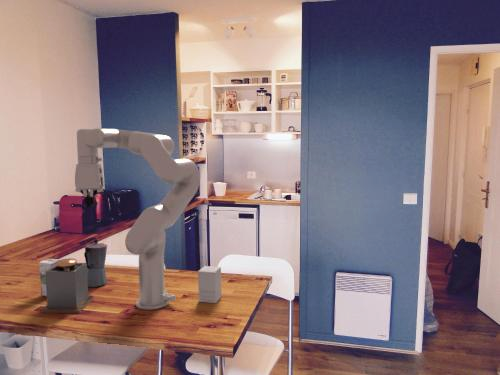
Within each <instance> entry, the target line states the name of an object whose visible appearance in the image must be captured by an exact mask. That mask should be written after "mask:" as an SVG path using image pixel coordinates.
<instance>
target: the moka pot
mask: <svg viewBox="0 0 500 375" xmlns="http://www.w3.org/2000/svg"><path fill="white" fill-rule="evenodd" d="M107 247H108V245H107V244H106V243H104V242H99V240H98V239H94V243H91V244H90V243H89V244H86V245H85V246H84V253H83V254H84V255H83V256H84V258H85V259H84V260H85V263H87V277H88V288H89V287H90V288H97V287H103V286H105V285H107V283H108V280H107V275H106V267H105V266H106V260H107V259H106V257H107V249H108V248H107Z"/></svg>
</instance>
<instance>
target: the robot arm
mask: <svg viewBox="0 0 500 375" xmlns="http://www.w3.org/2000/svg"><path fill="white" fill-rule="evenodd" d="M106 148H107V149H108V148H109V149H110V148H111V149H112V148H115V149H123V150H129V152H130V153H131V154H133V155H140V156H142V157H143V158H144V159H145V161H146V162H147V164H148V165H149V166H150V167H151V169H152V170H153V172H154V173H155V174H156V175H157V176H158V178H160V180H161V181H162V182H164V183H166V184H168V185H173V186H172V188H170V190H169V191H168V192H167V193H166V195H165V197H163V199H162V200H161V201H160V202H159V203H158V204H155V205H152V206H149V207H147V208H145V209H144V210H143V211H142V212H141V213H140V215H139V216H138V217H137V219H136V220H135V221H134V223H133V224H132V226H131V227H130V229H129V231H127V233H126V236H125V240H124V244H125V245H124V246H125V247H126V250H127V251H128V252H129V253H130V254H133V255H138V282H139V283H138V284H139V285H138V286H139V288H138V290H139V298H137V300H136V301H135V306H136V308H138V309H140V310H145V311H146V310H147V311H151V310H158V309H163V308H164V307H166V306H168V305H169V303H170V301H176V300H177V297H176V296H177V295H175V294H174V293H168V292H167V291H168V290H167V289H166V288H165V247H166V238H167V236H166V231H165V230H167V229H169V228H170V227H173V226H174V224H175V223H176V222H177V220H178V219H179V217H180V216H181V214H183V212H184V211H185V209H186V207H188V205H189V203H190V202H191V200H192V199H193V198H194V196H195V195H196V194H197V192H198V190H199V188H200V182H201V174H200V171H199V167H198V165H197V164H196V163H195V162H194V161H193V160H192V159H188V158H176V159H174V158H173V157H172V154H173V153H174V152H175V149H176V148H175V142H174V140H173V138H171V137H170V136H168V135H164V134H160V133H159V134H158V133H151V132H143V131H136V130H126V129H118V128H104V127H103V128H101V127H100V128H98V127H96V128H79V129H77V131H76V149H77V150H76V151H77V164H76V166H75V169H74V170H75V172H74V187H75V190H74V191H75V192H76V193H81V194H82V196H83V198H85V200H84V201H85V205H86V208H92V207H94V206H95V196H96V195H97V194H98V193H102V192H103V191H104V189H103V188H104V185H105V184H104V183H105V182H104V173H103V168H102V165H101V163H99V162H101V161H102V160H103V158H102V157H100V156H99V152H98V151H99V149H106Z"/></svg>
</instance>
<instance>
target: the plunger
mask: <svg viewBox="0 0 500 375" xmlns="http://www.w3.org/2000/svg"><path fill="white" fill-rule="evenodd" d="M57 260H58V261H57V262H56V267H58V268H65V271H69V267H73V266H76V265H77V263H78V261H77V259H76V258H70V257H69V258H61V259H57Z"/></svg>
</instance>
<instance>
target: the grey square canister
mask: <svg viewBox="0 0 500 375" xmlns="http://www.w3.org/2000/svg"><path fill="white" fill-rule="evenodd" d="M45 273H46V291H47V297H46V304H47V305H45V306H44V307H43V308H41V309H40V310H41V313H45V314H46V313H50V314H52V313H53V314H54V313H55V314H56V313H58V314H60V313H61V314H62V313H65V314H67V313H69V314H79V313H81V312H82V311H83V310H84V309H85V308H86V307H87V306H88V305H89V304H90V303H91V302H92V301H93V300H94V297H95V296H94V295H89V286H88V277H87V263H86V262H77V265H76V266H73V267H69V271H65V268H58V267H56V265H55V266H53V267H52V268H50V269H49V270H47V271H46V272H45Z"/></svg>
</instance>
